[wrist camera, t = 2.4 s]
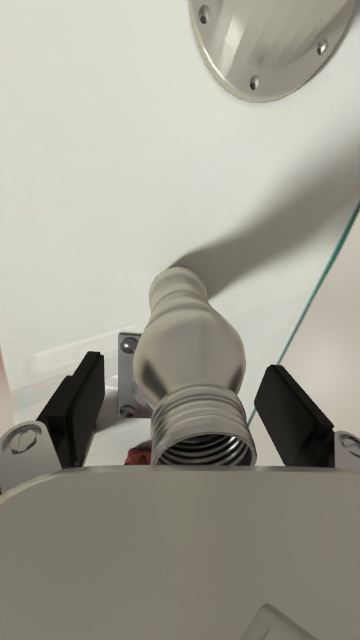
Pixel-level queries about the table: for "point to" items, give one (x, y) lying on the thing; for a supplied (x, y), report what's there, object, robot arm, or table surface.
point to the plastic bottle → (192, 377)
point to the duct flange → (129, 381)
